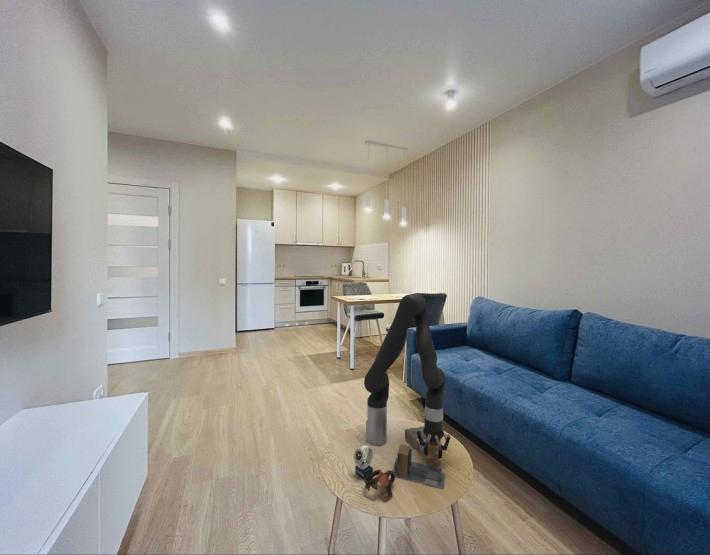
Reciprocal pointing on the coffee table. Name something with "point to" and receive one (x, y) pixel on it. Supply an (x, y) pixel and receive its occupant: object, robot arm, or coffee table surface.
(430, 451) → the brown wooden block
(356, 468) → the watch
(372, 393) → the robot arm
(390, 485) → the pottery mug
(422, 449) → the geological specimen
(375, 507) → the coffee table surface
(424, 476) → the grey and brown stand
